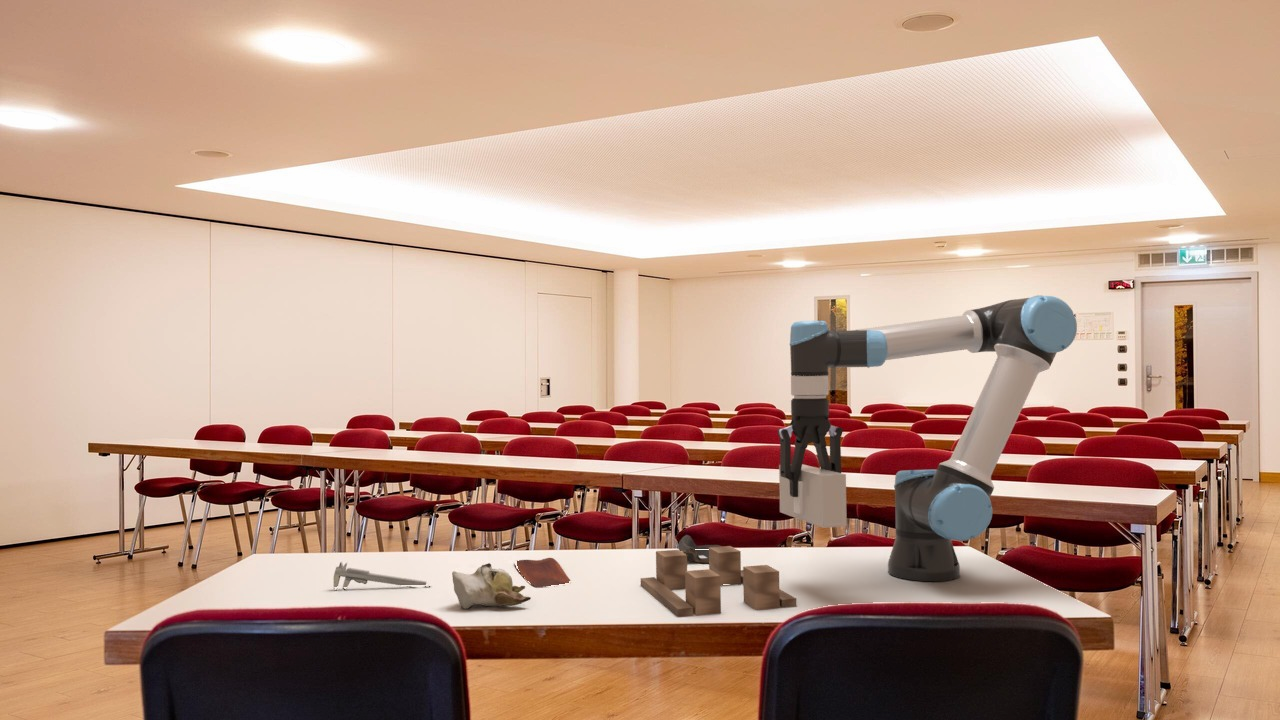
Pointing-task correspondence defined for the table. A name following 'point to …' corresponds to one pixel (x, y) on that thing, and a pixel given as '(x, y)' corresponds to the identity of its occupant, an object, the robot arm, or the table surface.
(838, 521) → the light grey rectangular block
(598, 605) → the table surface
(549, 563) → the wooden tablet
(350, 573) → the caliper
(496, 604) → the ceramic sculpture
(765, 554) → the table surface
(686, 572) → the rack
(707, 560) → the pottery fragment
